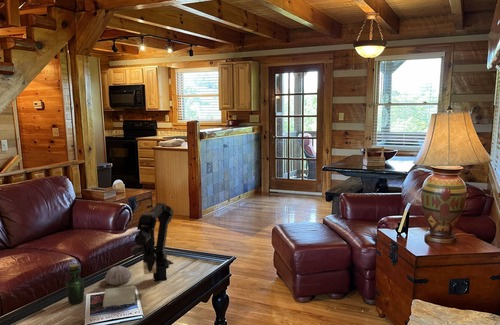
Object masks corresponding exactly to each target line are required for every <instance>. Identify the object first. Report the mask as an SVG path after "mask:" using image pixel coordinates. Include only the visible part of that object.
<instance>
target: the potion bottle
mask: <svg viewBox="0 0 500 325" xmlns="http://www.w3.org/2000/svg"><path fill="white" fill-rule="evenodd" d="M69 267H70V269H69V270H68V271H67V274H68V275H70V279H68V280H67V281H66V283H65V286H66V287H65V288H66V292H67V294H66V295H67V301H68V304H70V305H78V304H81V303H83V302H84V300H85V279H84V278H82V277H80V276H79V275H80V273H82V269H81V268H80V267H79V263H71V264H70V265H69Z"/></svg>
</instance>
